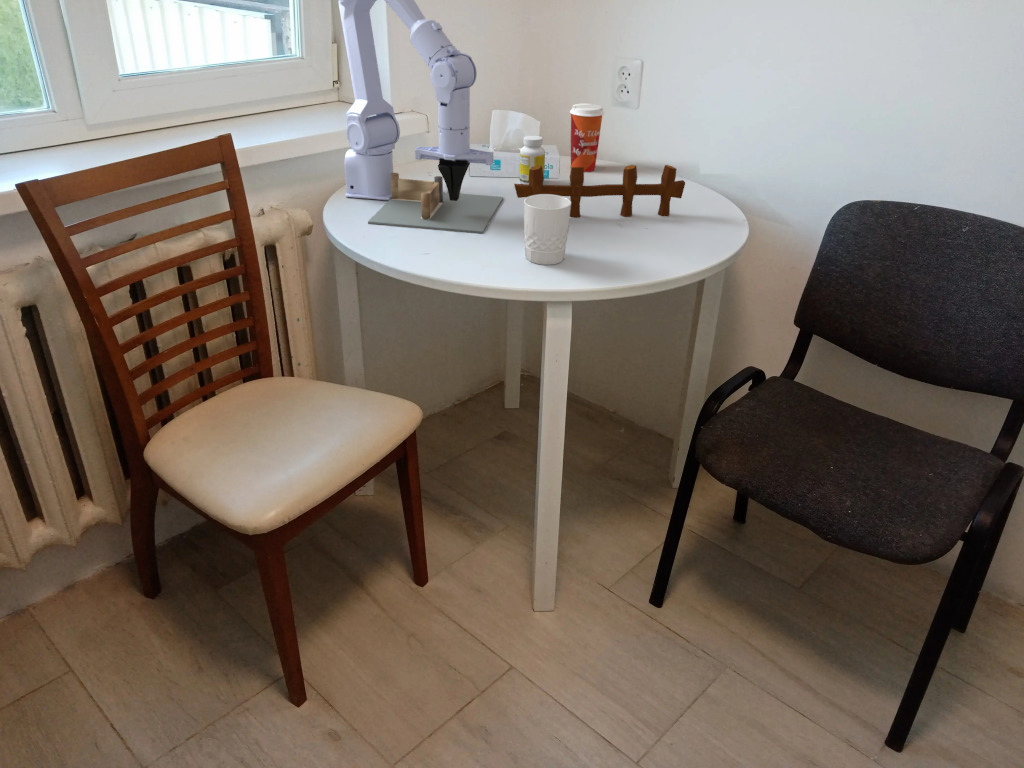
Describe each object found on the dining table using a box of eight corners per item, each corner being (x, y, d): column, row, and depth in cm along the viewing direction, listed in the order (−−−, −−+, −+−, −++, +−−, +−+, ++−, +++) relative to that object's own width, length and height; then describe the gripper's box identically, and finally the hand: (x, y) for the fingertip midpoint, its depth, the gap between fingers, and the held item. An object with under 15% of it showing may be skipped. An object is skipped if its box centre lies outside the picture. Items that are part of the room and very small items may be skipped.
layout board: (368, 223, 149) (367, 221, 149) (400, 190, 167) (400, 188, 167) (482, 233, 146) (482, 231, 146) (503, 198, 164) (503, 196, 164)
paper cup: (571, 174, 180) (576, 110, 173) (562, 164, 187) (565, 103, 180) (604, 172, 182) (609, 109, 175) (593, 163, 188) (598, 102, 181)
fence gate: (433, 202, 159) (433, 179, 156) (441, 202, 159) (441, 180, 156) (420, 218, 151) (419, 194, 148) (428, 218, 150) (428, 195, 148)
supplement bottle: (544, 180, 176) (546, 135, 171) (542, 187, 171) (545, 141, 166) (520, 178, 176) (521, 133, 171) (518, 185, 172) (519, 140, 167)
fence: (514, 219, 154) (515, 168, 148) (512, 214, 156) (514, 164, 151) (681, 217, 157) (688, 167, 152) (677, 212, 160) (684, 163, 155)
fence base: (390, 199, 160) (389, 174, 158) (393, 196, 162) (392, 172, 159) (441, 203, 159) (441, 178, 156) (443, 200, 160) (443, 176, 158)
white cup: (520, 249, 140) (521, 194, 135) (564, 249, 141) (567, 194, 135) (524, 266, 133) (526, 209, 128) (570, 266, 134) (574, 209, 129)
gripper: (409, 128, 142) (412, 202, 149) (488, 134, 140) (487, 208, 147) (420, 119, 148) (422, 191, 155) (496, 125, 146) (494, 197, 153)
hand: (454, 199), depth 152 cm, fingers closed
